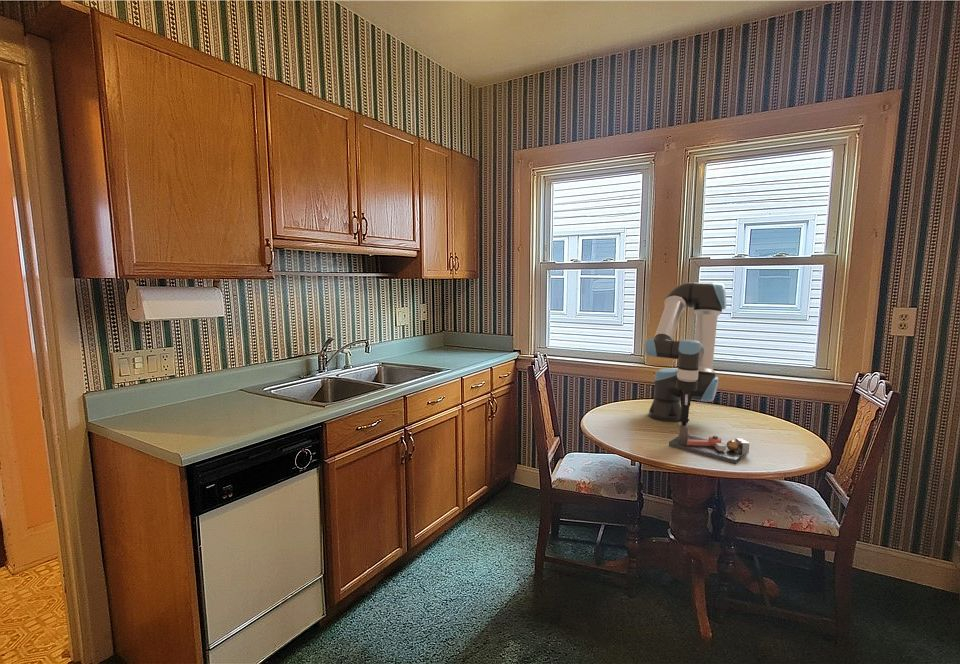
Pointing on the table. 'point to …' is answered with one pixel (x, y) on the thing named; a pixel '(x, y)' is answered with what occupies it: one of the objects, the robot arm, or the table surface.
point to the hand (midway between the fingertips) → (682, 437)
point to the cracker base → (731, 455)
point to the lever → (712, 441)
